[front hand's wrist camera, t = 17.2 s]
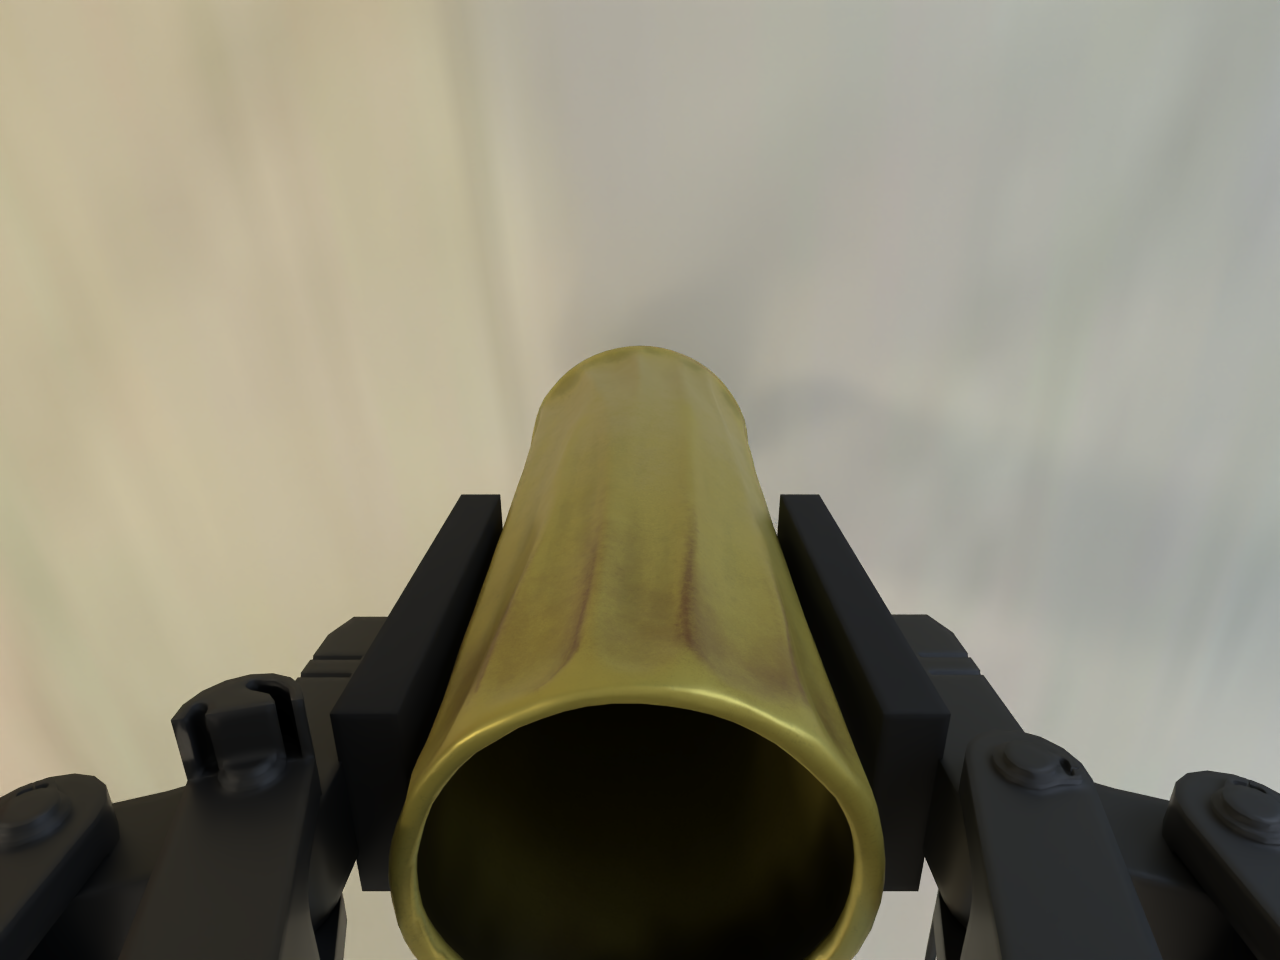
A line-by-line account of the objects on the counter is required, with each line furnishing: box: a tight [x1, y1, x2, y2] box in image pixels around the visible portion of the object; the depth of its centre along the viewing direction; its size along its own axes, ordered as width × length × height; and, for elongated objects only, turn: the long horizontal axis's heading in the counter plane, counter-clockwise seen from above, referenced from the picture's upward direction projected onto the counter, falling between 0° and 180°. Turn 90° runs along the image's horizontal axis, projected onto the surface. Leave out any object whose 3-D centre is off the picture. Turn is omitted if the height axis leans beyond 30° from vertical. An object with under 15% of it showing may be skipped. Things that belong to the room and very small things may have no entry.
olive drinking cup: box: [388, 346, 885, 960], centre depth 14 cm, size 6×6×14 cm
